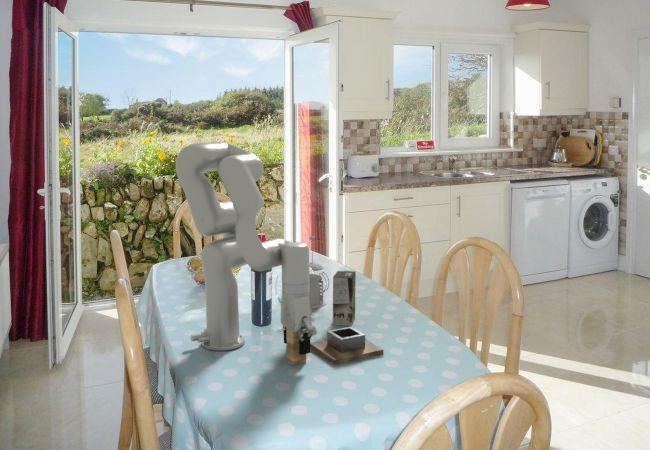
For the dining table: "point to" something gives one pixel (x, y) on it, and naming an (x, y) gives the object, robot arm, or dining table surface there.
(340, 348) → the grey square socket
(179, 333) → the dining table surface
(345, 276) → the coffee box
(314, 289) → the chalice
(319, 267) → the french press
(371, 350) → the board
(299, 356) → the rail post
